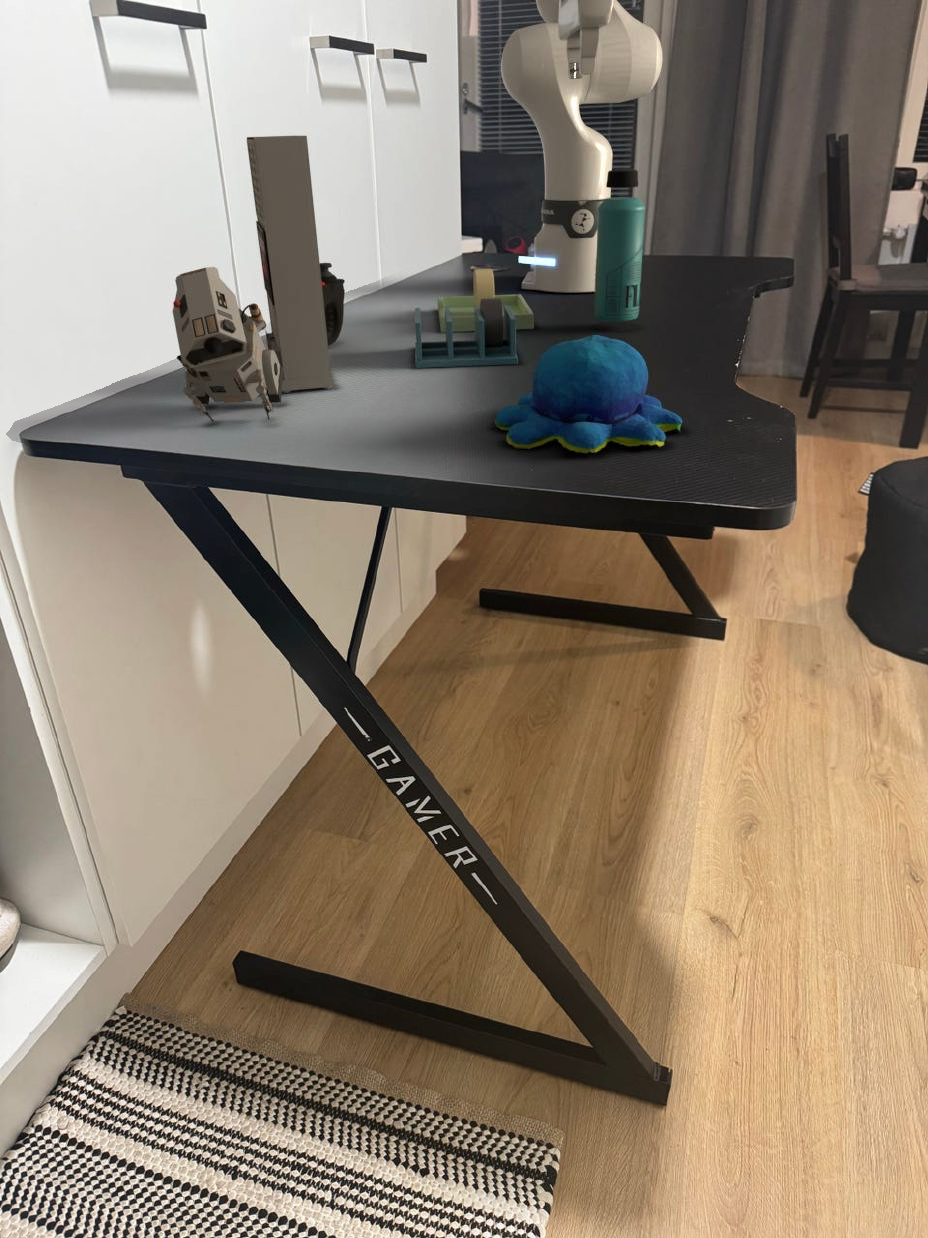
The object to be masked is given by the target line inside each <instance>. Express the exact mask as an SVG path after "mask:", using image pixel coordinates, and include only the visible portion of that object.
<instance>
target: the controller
mask: <svg viewBox="0 0 928 1238" xmlns="http://www.w3.org/2000/svg"><path fill="white" fill-rule="evenodd" d="M332 267H333V265H332V263H331V262H320V272H321V282H322V292H323V302H324V311H325V321H326V331H327V341H328V346H331V345H333V344H334V343H335V342H336V341H337V340H338V338H339V337H340V335H341V332H342V328H343V323H344V314H345V294H346V292H345V286H344V283H345V282H346V281H345V280H346V279H344V278H338V277H337V276H336V275H335V274H333V273H332V272H331V271H330V269H331V268H332Z"/></svg>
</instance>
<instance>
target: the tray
mask: <svg viewBox="0 0 928 1238" xmlns="http://www.w3.org/2000/svg"><path fill="white" fill-rule="evenodd" d="M494 298H501V301H502V308H503V331H504V305H508V306H509V307H510V309H511V311H512V313H513V315H514V317H515V319H516V330H533V329H534V327H535V325H534V323H535V318H534V317H535V314H534V313H533V310H532V309H531V308H530V307H529V304H528V303H527V302H526V300H525V298H524V297H523V296H522V294H521V293H519V294H518V293H517V294H494ZM445 307H449V308H450V313H451V318H452V331H453V333H456V332H457V333H458V332H459V333H460V332H475V324H474V295H465V296H464V295H463V296H462V295H461V296H438V297H437V312H438V321H439V329H440V333H446V331H445Z"/></svg>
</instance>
